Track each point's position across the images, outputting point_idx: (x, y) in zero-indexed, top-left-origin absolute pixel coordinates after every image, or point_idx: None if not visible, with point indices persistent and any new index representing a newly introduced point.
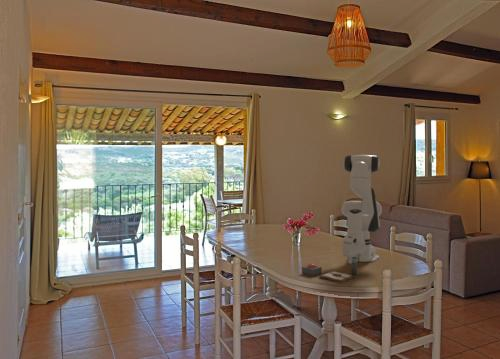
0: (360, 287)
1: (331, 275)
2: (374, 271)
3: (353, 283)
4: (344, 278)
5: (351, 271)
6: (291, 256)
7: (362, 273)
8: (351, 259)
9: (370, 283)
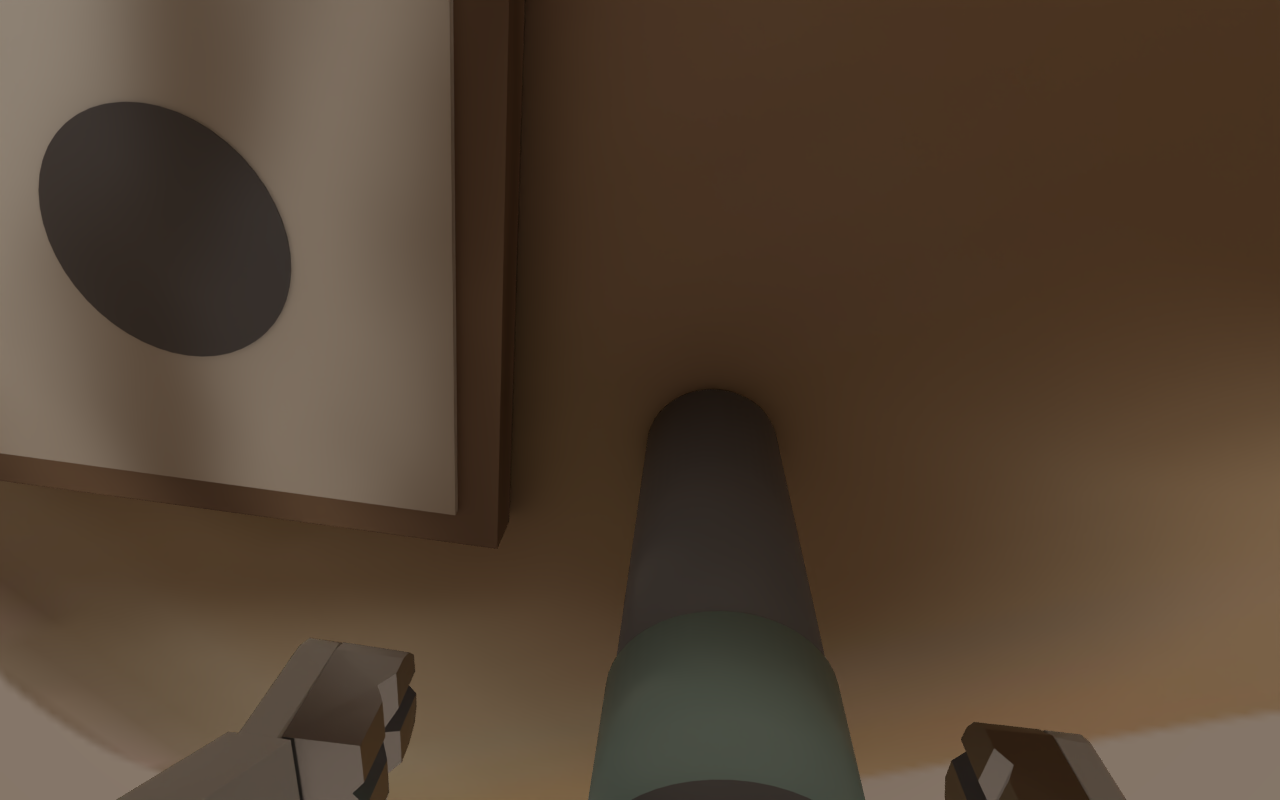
0: (125, 725)
1: (25, 118)
2: (1259, 667)
3: (201, 602)
4: (135, 468)
5: (662, 446)
6: None
7: (966, 533)
8: (635, 715)
9: (415, 775)
